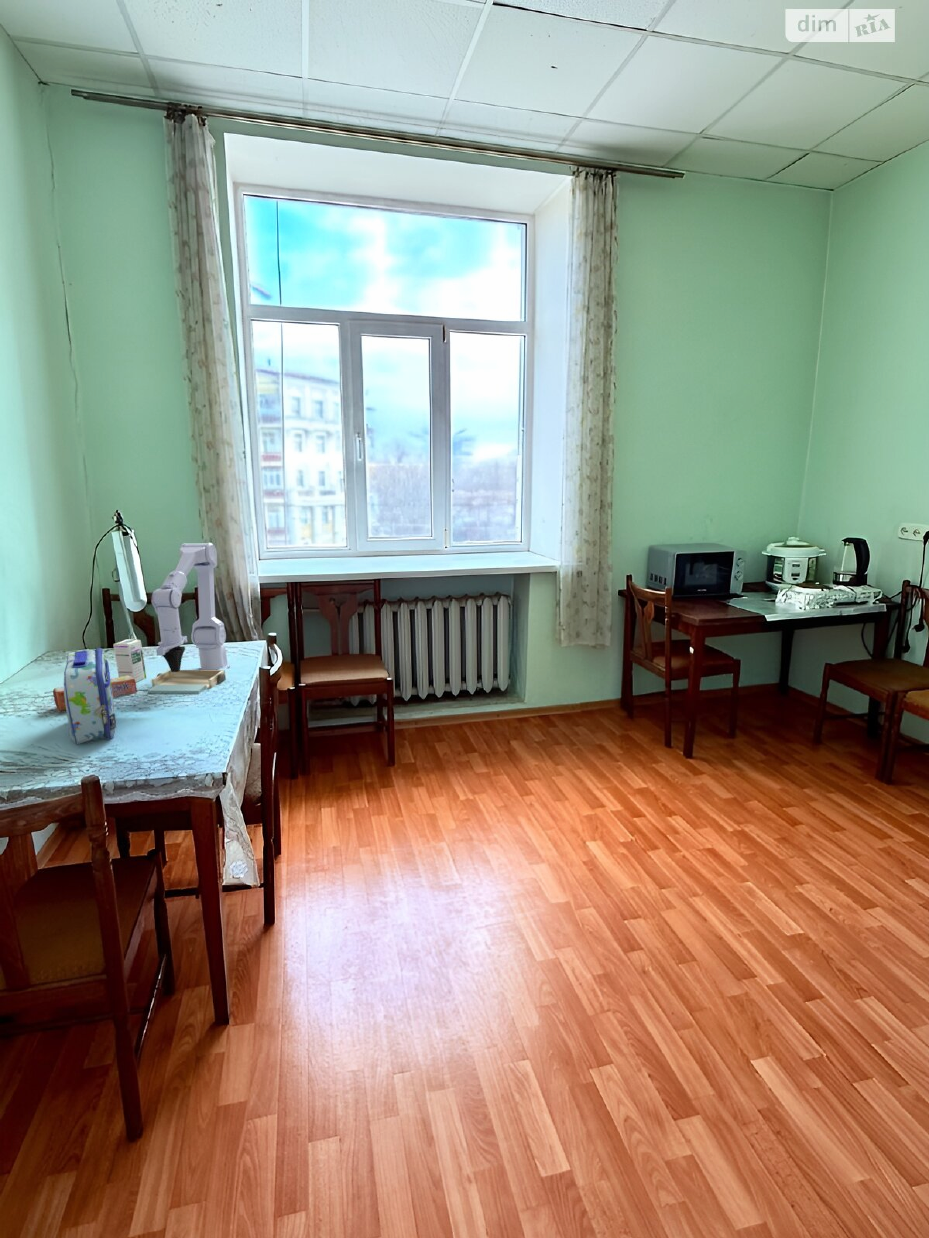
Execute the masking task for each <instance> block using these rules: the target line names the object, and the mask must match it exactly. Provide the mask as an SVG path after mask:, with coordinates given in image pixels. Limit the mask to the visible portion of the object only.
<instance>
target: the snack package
mask: <svg viewBox="0 0 929 1238" xmlns="http://www.w3.org/2000/svg"><path fill="white" fill-rule="evenodd" d="M110 679H111V686H112V693H113V698H115V697H119V696H124V695H125V696H126V695H130V694H135V693H137V692H138V689H137V683H136V682H135V679H134V678H133V677H132V676H123V677H119V676H117V677H112V678H110ZM52 691H53V692H52V694H53V700H54V704H55V706H56V709H57V710H58V711H60V712H64V711H66V705H65V698H64V686H59V687H58V686H57V687H55V688H53V690H52Z"/></svg>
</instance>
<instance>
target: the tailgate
mask: <svg viewBox="0 0 929 1238" xmlns="http://www.w3.org/2000/svg"><path fill="white" fill-rule="evenodd" d="M206 689H208V688H207V686H206V685H155V686H154V687H152V686H151V688H149V689H147V693H148V694H186V695H187V694H190V695H191V694H193V695H195V694H197V695H198V694H201V693H203V691H205V690H206Z"/></svg>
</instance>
